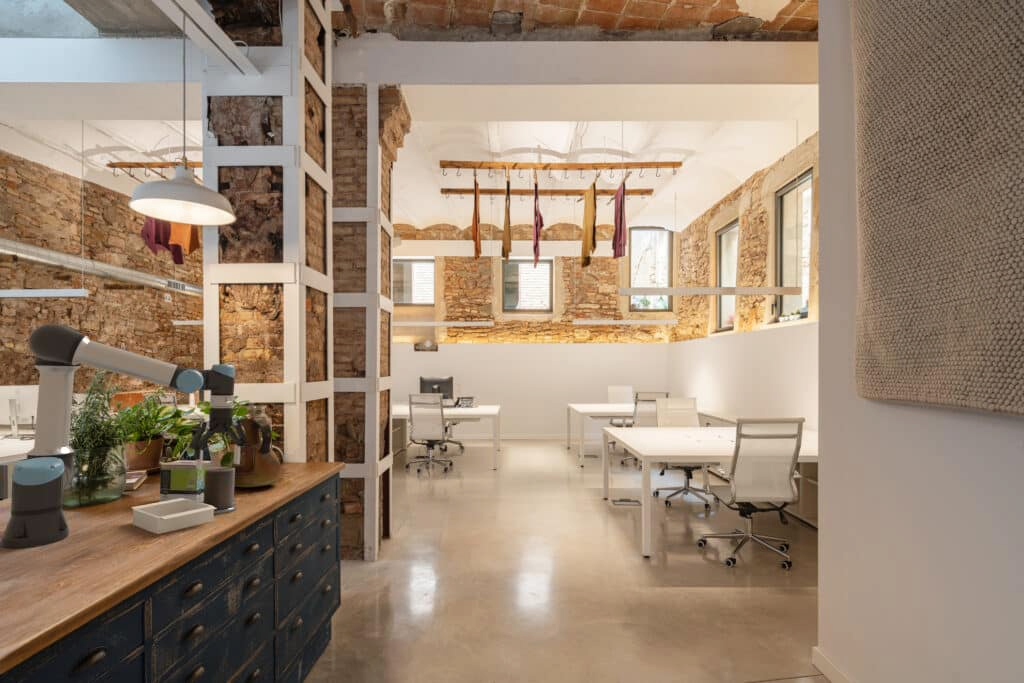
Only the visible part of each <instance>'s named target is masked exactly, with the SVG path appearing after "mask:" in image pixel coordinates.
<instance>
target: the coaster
mask: <svg viewBox="0 0 1024 683" xmlns="http://www.w3.org/2000/svg"><path fill="white" fill-rule="evenodd" d="M237 509H238V505H237V504H236V503H234V505H233V507H231V508H228V509H223V510H215V511H214V515H215V516H216V515H223V514H228V513H231V512H235V511H236V510H237Z"/></svg>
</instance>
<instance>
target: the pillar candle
mask: <svg viewBox="0 0 1024 683" xmlns="http://www.w3.org/2000/svg"><path fill="white" fill-rule="evenodd" d="M234 481H235V468H233V467H231V466H221V465H219V466H218V467H217V466H213V468H208V469H206V470H205V483H204V501H203V502H202V503H204V504H208V505H211V506H214V507H215V508H217V509H214V511H215V510H223V509H228V508H231V507H233V505H234V504H235V503H234V500H235V499H234V498H235V486H234Z"/></svg>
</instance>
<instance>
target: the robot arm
mask: <svg viewBox="0 0 1024 683" xmlns="http://www.w3.org/2000/svg"><path fill="white" fill-rule="evenodd" d="M28 347H29V349H30V351H31V353H32V354H33V355H34V362H33V364H34V365H33V366H34V368H36V369H37V370H38V371H39V380H38V381H39V382H38V392H37V405H36V406H37V407H36V419H35V431H34V432H35V434H34V443H33V444H34V445H33V448H32V449H30V450H29V451H27V453H26V459H25V460H22V461H19V462H18V463H16V464H15V465H14V467H13V469H12V473H11V479H12V480H11V501H10V502H11V504H10V506H11V507H10V518H9V520H8V522H7V524H6V526H5V529H4V531H3V533H2V536H1V545H0V546H1V547H4V548H8V549H9V548H10V549H20V548H31V547H38V546H44V545H47V544H48V545H49V544H51V543H55V542H58V541H62V540H64V539H66V538H67V537H68V536H69V530H70V529H69V525H68V523H67V520H66V518H65V515H64V512H63V498H64V497H63V496H64V489H66V488H68V486H69V485H70V484H71V483H72V482H73V480H74V479H75V475H76V466H75V463H74V460H75V450H74V449H73V448H72V447H70V444H69V443H70V434H71V433H70V431H71V419H72V418H71V417H72V409H73V408H72V405H73V393H74V379H75V378H74V377H75V373H76V371H77V370H79V369H80V368H81V365H86V366H89V367H93V368H96V369H99V370H104V371H109V372H111V373H115V374H119V375H123V376H127V377H129V378H134V379H137V380H141V381H145V382H149V383H151V384H157V385H159V386H164V387H168V388H171V389H172V390H173V391H181V392H183V393H187V394H193V393H196V392H198V391H210V397H209V398H210V399H209V406H210V408H209V412H208V414H209V416H208V417H209V420H208V421H203V420H202V421H200V422H199V426H198V428H197V430H196V432H195V434H194V436H193V438H192V440H191V442H190V443H189V446H188V448H189V449H191V450H194V452H193V454H194V456H193V458H194V460H195V461H196V468H197V469H202V462H203V461H204V459H203V458H204V450H202V448H203V447H204V446H205V445H206V444H207V443H208V442H209V440H210V439H211V438H212V437H213V436H215V434H221V433H223V434H227V435H228V436H229V437H230V438H231V440H232V441H233V442H234V443H235V444H236V445H234V448H233V449H234V451H233V460H234V464H240V455H241V454H242V448H243V446H244V445H245V444H247V443H248V440H247V438H246V436H245V430H243V429H244V428H242V427H243V426H242V424H241V420H242V419H238V418H235V419H234V420H233V416H234V415H233V413H234V408H233V406H234V393H235V379H236V378H235V377H236V374H235V372H236V371H235V370H236V369H235V366H234V365H233V364H212V365H211V369H195V368H193V369H191V368H187V367H184V366H180V365H177V364H173V363H171V362H166V361H163V360H160V359H156V358H153V357H149V356H146V355H143V354H139V353H135V352H131V351H129V350H125V349H122V348H117V347H115V346H111V345H108V344H104V343H101V342H97V341H94V340H90V337H89V336H87V335H85V334H82V333H80V332H79V331H78V330H77V329H76V328H74V327H72V326H70V325H65V324H64V325H63V324H61V323H45V324H43V325H39V326H38V327H37V328H35V329H34V330H32V332H31V334H30V335H29V338H28ZM232 426H233V427H234V429H235V431H236V433H237V434H236V433H235V432H234V429H233V428H232ZM208 427H209V429H207V431H206V428H208ZM205 431H206V433H205ZM204 433H205V434H204Z"/></svg>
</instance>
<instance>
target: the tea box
mask: <svg viewBox="0 0 1024 683" xmlns="http://www.w3.org/2000/svg"><path fill="white" fill-rule="evenodd" d="M208 468H214V460H203V462H202V469H197V468H196V460H174V461H170V462H167V463H161V464H160V473H159V474H160V478H159V479H160V481H159V502H163V501H168V500H173V499H179V498H184V499H190V500H194V501H197V502H201V503H203V502H204V483H205V470H206V469H208Z"/></svg>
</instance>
